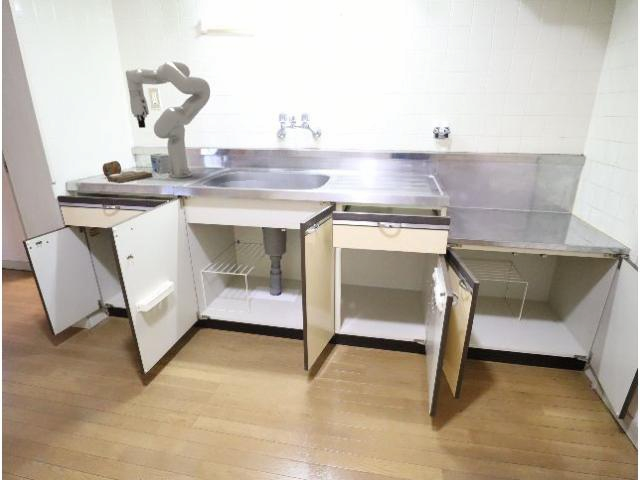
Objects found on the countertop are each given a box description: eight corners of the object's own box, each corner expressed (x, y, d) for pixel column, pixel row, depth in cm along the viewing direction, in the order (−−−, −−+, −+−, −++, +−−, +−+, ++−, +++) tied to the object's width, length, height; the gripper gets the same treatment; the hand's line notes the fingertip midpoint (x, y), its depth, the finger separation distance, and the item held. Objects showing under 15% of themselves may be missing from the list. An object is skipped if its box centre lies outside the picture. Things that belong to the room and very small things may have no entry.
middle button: (134, 175, 206) (133, 170, 205) (126, 177, 202) (125, 171, 201) (129, 175, 208) (128, 169, 207) (122, 176, 205) (121, 171, 204)
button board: (152, 177, 210) (151, 172, 209) (119, 183, 194) (118, 178, 193) (140, 175, 216) (140, 170, 215) (107, 181, 200) (106, 176, 199)
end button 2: (145, 175, 212) (144, 170, 211) (138, 177, 208) (137, 171, 207) (140, 175, 214) (140, 170, 213) (134, 176, 211) (133, 171, 210)
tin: (108, 178, 207) (105, 163, 204) (103, 178, 207) (100, 163, 204) (122, 173, 221) (120, 159, 218) (117, 173, 221) (114, 159, 218)
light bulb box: (152, 171, 227) (149, 154, 223) (162, 170, 232) (159, 153, 229) (162, 173, 222) (160, 155, 218) (172, 171, 227) (169, 154, 223)
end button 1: (122, 179, 201) (121, 174, 200) (115, 181, 197) (114, 175, 196) (118, 179, 203) (117, 173, 202) (110, 180, 199) (109, 175, 198)
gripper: (150, 93, 204) (156, 127, 211) (134, 94, 212) (140, 126, 218) (138, 93, 198) (144, 128, 205) (122, 94, 206) (128, 127, 212)
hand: (142, 127), depth 211 cm, fingers closed
